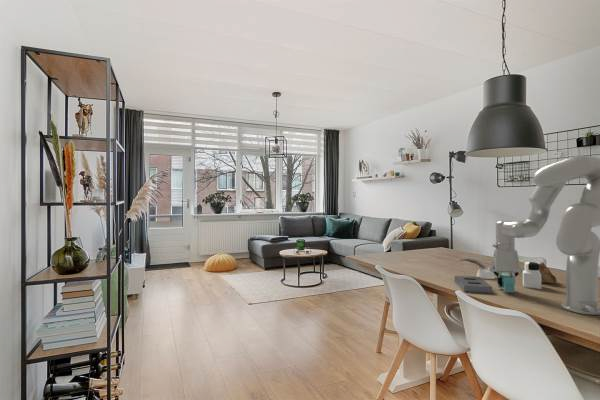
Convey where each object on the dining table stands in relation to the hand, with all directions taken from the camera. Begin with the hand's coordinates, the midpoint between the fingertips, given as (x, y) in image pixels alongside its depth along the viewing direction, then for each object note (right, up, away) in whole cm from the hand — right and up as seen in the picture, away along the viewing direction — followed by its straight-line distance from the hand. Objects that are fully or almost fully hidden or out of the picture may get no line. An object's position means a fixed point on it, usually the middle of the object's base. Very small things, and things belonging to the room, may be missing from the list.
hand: (505, 285), depth 157 cm
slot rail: (-12, -3, +7) cm, 14 cm away
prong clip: (0, -2, 0) cm, 2 cm away
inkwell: (+2, -3, +29) cm, 29 cm away
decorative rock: (+29, -3, +17) cm, 34 cm away
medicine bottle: (+18, -3, +9) cm, 20 cm away
